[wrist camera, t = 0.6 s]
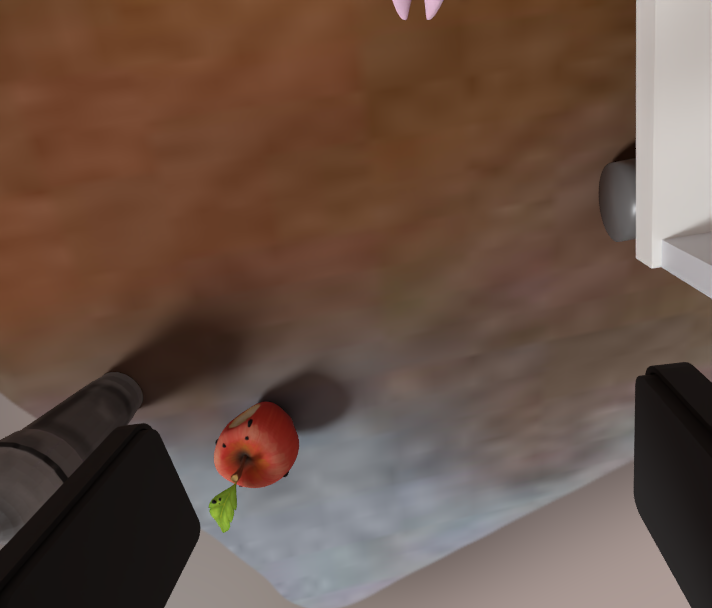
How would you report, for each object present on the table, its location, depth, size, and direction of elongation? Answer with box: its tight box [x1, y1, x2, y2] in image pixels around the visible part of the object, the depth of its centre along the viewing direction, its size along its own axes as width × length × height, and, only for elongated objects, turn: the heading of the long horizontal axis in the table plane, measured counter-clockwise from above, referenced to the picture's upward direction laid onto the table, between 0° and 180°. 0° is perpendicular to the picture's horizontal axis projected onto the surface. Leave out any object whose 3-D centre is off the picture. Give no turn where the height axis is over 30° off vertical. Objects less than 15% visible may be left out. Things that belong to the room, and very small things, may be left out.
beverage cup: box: [0, 372, 143, 545], centre depth 34 cm, size 7×7×20 cm
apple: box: [209, 402, 299, 533], centre depth 38 cm, size 8×7×10 cm
